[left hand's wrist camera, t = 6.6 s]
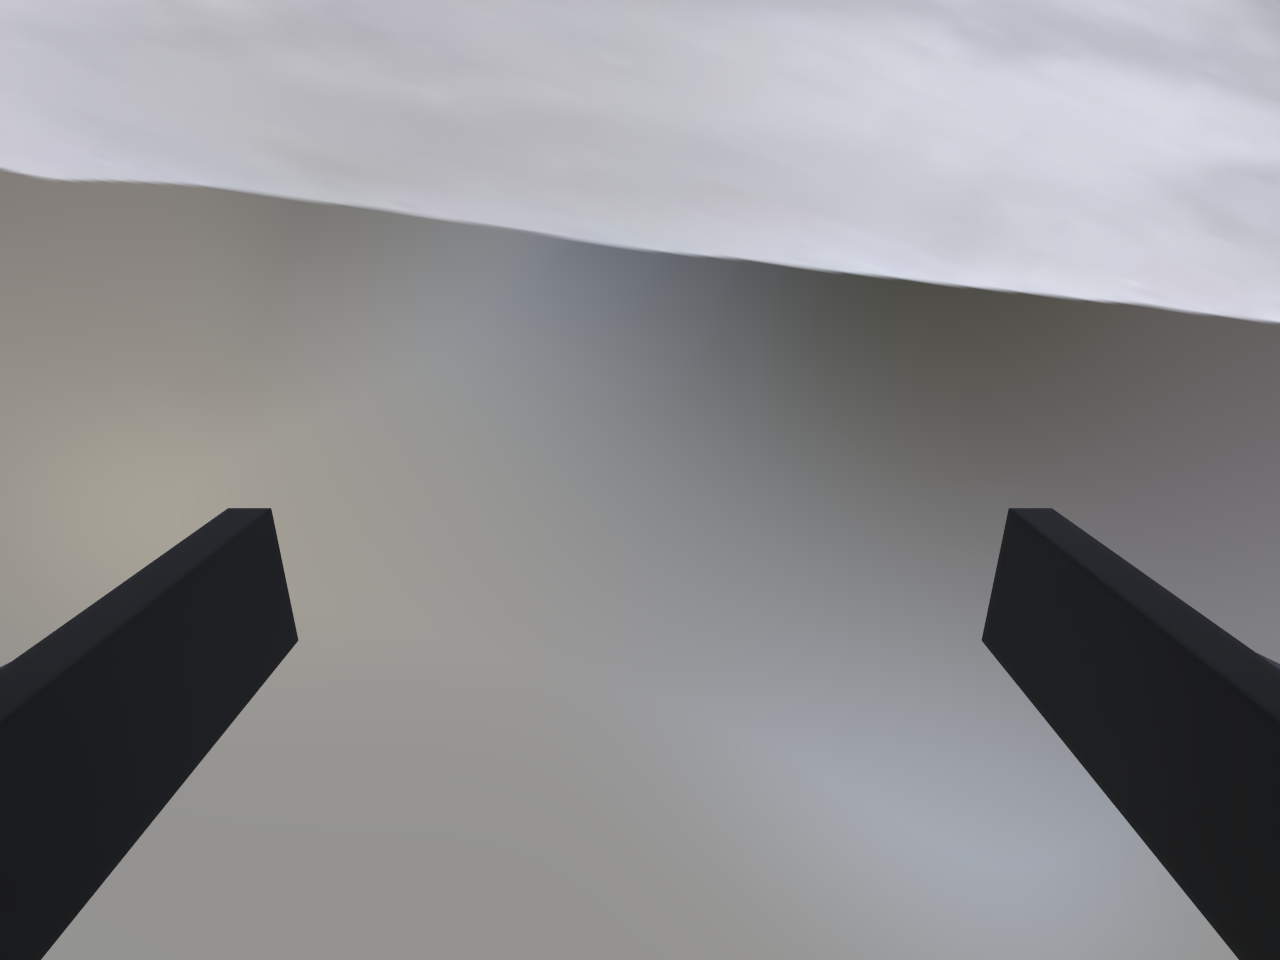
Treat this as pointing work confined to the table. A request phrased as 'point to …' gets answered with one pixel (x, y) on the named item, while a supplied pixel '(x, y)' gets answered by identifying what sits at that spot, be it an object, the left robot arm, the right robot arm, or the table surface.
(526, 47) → the table surface
